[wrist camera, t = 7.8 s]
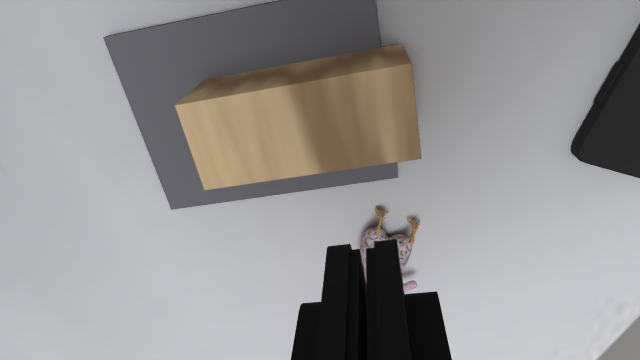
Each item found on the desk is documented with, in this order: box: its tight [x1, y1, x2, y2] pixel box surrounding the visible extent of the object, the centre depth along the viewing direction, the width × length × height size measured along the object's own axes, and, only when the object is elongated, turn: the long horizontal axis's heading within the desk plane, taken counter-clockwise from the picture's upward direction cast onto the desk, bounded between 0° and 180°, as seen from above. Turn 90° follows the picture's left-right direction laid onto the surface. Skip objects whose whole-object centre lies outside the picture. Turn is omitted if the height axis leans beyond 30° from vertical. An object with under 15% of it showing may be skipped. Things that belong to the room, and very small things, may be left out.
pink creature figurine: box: [361, 208, 420, 292], centre depth 32 cm, size 6×6×15 cm
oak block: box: [175, 43, 421, 190], centre depth 25 cm, size 5×5×12 cm
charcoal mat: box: [103, 0, 398, 210], centre depth 28 cm, size 16×12×1 cm
